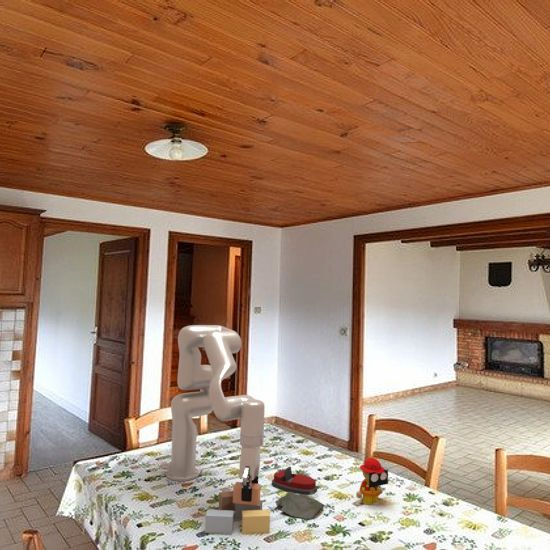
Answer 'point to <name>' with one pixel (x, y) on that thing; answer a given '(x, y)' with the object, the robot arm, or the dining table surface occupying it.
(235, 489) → the terracotta brick
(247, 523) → the ochre brick
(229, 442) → the dining table surface
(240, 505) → the charcoal brick
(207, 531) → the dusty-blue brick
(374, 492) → the toy
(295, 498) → the artifact
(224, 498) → the walnut brick
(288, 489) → the bumper car
